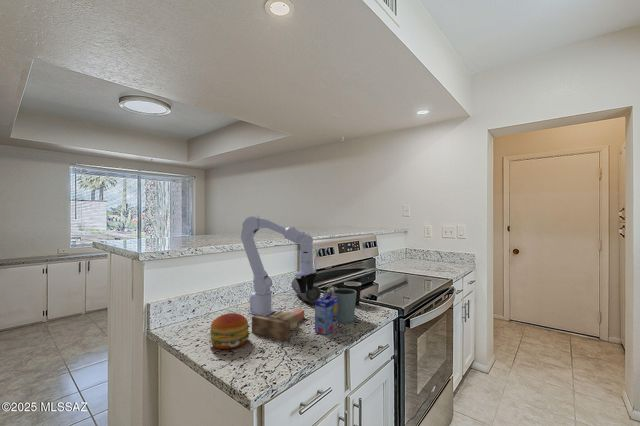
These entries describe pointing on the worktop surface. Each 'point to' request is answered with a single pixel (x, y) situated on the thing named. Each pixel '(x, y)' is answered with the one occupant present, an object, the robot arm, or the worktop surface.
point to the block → (286, 318)
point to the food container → (329, 290)
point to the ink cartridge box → (326, 314)
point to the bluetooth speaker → (309, 295)
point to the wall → (271, 327)
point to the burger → (229, 331)
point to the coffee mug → (354, 286)
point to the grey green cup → (345, 304)
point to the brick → (299, 314)
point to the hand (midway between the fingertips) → (306, 291)
